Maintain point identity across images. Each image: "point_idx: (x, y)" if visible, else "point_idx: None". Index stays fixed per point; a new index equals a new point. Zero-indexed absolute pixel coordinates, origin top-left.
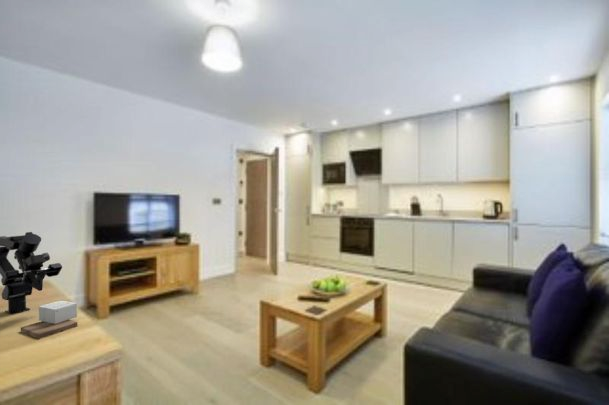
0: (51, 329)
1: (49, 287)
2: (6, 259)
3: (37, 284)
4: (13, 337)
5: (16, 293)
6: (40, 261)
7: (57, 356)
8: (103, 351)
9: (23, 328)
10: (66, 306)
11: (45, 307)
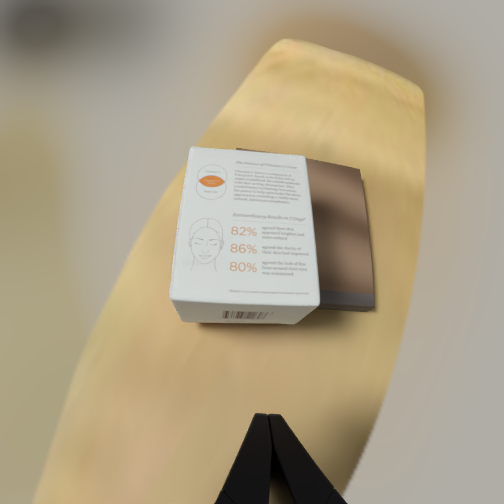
0: (320, 169)
1: None
2: None
3: (302, 465)
4: (396, 271)
5: None
6: None
7: (357, 83)
8: (301, 45)
9: (372, 280)
10: (245, 152)
11: (312, 233)
